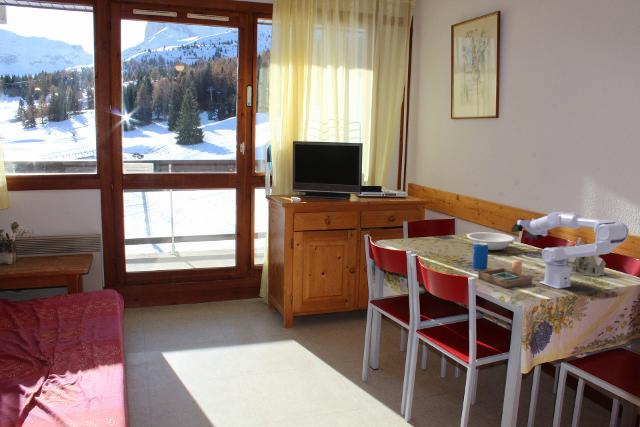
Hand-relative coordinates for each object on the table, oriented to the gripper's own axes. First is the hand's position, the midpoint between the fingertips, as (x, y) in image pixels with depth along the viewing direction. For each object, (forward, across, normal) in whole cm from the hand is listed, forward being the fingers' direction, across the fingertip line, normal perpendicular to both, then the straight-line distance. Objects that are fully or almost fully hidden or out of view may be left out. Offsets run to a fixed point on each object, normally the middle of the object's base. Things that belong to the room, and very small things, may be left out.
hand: (519, 232), depth 244 cm
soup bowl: (+44, -18, -8) cm, 48 cm away
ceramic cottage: (-3, -33, +8) cm, 34 cm away
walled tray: (-2, +6, +25) cm, 26 cm away
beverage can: (+16, +6, +17) cm, 24 cm away
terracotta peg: (+4, -5, +17) cm, 18 cm away
